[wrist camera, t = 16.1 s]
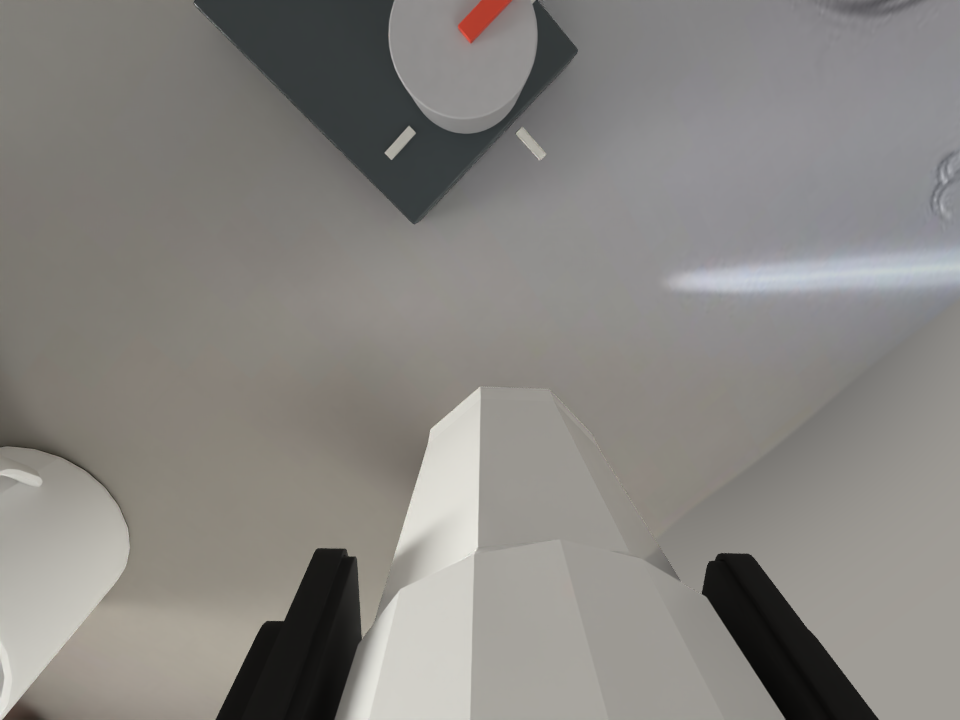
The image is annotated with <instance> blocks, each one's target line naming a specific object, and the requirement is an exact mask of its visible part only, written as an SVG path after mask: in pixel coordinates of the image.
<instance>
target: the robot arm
mask: <svg viewBox="0 0 960 720" xmlns="http://www.w3.org/2000/svg"><path fill="white" fill-rule="evenodd" d="M702 595H704V596H706V597H707V599H708V600H709V602H710V603H711V605H712V607H713V608H714V610H715V611H716V613H717V614H718V616H719V617H720V619H721V621H722V622H723V624H724V625H725V627H726V628H727V630H728V631H729V633H730V634H731V636H732V638H733V639H734V641H735V642H736V644H737V645H738V647H739V648H740V650H741V651H742V653H743V655H744V656H745V658H746V659H747V661H748V662H749V664H750V665H751V667H752V669H753V670H754V672H755V673H756V675H757V676H758V678H759V679H760V681H761V682H762V684H763V686H764V687H765V689H766V690H767V692H768V693H769V695H770V696H771V698H772V699H773V701H774V703H775V704H776V706H777V707H778V709H779V710H780V712H781V713H782V715H783V716H784V718H785V720H879V719H878V718H877V717H876V715H875V714H874V713H873V712H872V710H871V709H870V708H869V707H868V705H867V704H866V702H865V701H864V700H863V698H862V697H861V696H860V694H859V693H858V692H857V690H856V689H855V688H854V687H853V685H852V684H851V683H850V681H849V680H848V679H847V677H846V676H845V675H844V674H843V672H842V671H841V669H840V668H839V667H838V665H837V664H836V663H835V662H834V660H833V659H832V658H831V656H830V655H829V654H828V653H827V651H826V650H825V649H824V647H823V646H822V645H821V643H820V642H819V640H818V639H817V638H816V637H815V636H814V635H813V634H812V633H811V631H809V630H808V629H807V627H806V626H805V625H804V623H803V622H802V621H801V620H800V618H799V617H798V616H797V614H796V613H795V612H794V610H793V609H792V608H791V606H790V605H789V604H788V602H787V601H786V600H785V598H784V597H783V596H782V594H781V593H780V592H779V590H778V589H777V588H776V586H775V585H774V584H773V582H772V581H771V580H770V579H769V577H768V576H767V574H766V573H765V572H764V571H763V569H762V568H761V567H760V565H759V564H758V563H757V561H756V560H755V559H754V558H753V557H752V556H751V555H749V554H732V553H728V554H727V553H721V554H718V555H717V557H716V559H715V561H709V563H708V565H707V569H706V574H705V580H704V585H703V590H702ZM361 640H362V635H361V619H360V602H359V585H358V568H357V558H356V557H349V556H348V553H347V550H346V549H330V548H318V549H316V551H315V552H314V554H313V557H312V559H311V561H310V563H309V566H308V568H307V570H306V573H305V575H304V577H303V579H302V582H301V584H300V586H299V589H298V591H297V593H296V595H295V598H294V600H293V602H292V604H291V607H290V609H289V611H288V614H287V616H286V618H285V620H284V621H266V622H265V623H264V624H263V625H262V627H261V628H260V630H259V632H258V634H257V636H256V638H255V640H254V642H253V644H252V646H251V648H250V650H249V652H248V654H247V656H246V658H245V660H244V662H243V664H242V667H241V669H240V671H239V673H238V675H237V677H236V679H235V681H234V683H233V685H232V687H231V689H230V691H229V693H228V695H227V697H226V699H225V701H224V704H223V706H222V708H221V710H220V712H219V714H218V716H217V718H216V720H335V717H336V713H337V710H338V707H339V704H340V701H341V697H342V694H343V691H344V688H345V685H346V681H347V678H348V675H349V672H350V669H351V665H352V662H353V659H354V656H355V653H356V650H357V646H358V644H359V643H360V641H361Z"/></svg>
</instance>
